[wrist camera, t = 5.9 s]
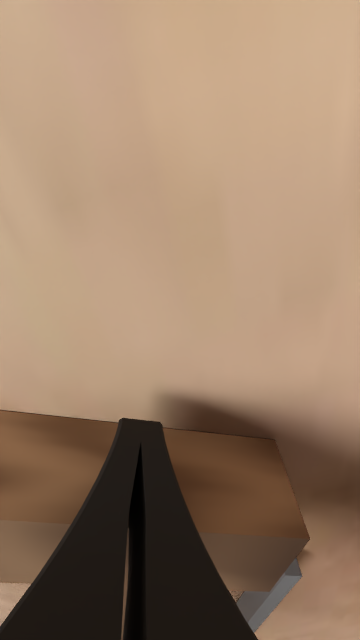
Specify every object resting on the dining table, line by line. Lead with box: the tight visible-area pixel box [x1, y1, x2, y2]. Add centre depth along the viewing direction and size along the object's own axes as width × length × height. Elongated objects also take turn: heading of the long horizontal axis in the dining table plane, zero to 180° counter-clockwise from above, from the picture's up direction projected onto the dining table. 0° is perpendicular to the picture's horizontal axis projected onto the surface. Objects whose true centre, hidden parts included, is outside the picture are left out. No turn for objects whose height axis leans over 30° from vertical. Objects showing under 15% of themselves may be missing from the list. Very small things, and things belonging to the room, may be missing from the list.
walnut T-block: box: [0, 410, 310, 640], centre depth 15 cm, size 12×11×4 cm
